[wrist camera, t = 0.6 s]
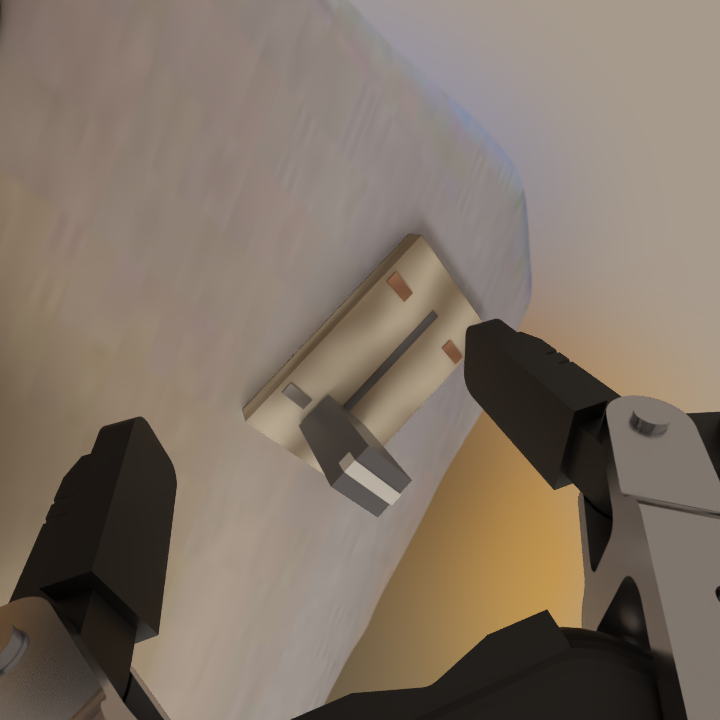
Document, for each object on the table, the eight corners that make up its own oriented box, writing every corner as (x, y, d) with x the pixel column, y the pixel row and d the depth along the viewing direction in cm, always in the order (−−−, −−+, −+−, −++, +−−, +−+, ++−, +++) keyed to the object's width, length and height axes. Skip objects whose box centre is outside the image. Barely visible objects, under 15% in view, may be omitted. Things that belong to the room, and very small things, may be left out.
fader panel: (242, 410, 31) (245, 422, 30) (409, 233, 32) (423, 235, 30) (337, 475, 38) (345, 489, 36) (475, 326, 38) (490, 332, 36)
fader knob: (297, 425, 31) (330, 486, 24) (327, 393, 31) (368, 445, 24) (339, 455, 34) (379, 518, 27) (366, 426, 34) (413, 481, 27)
